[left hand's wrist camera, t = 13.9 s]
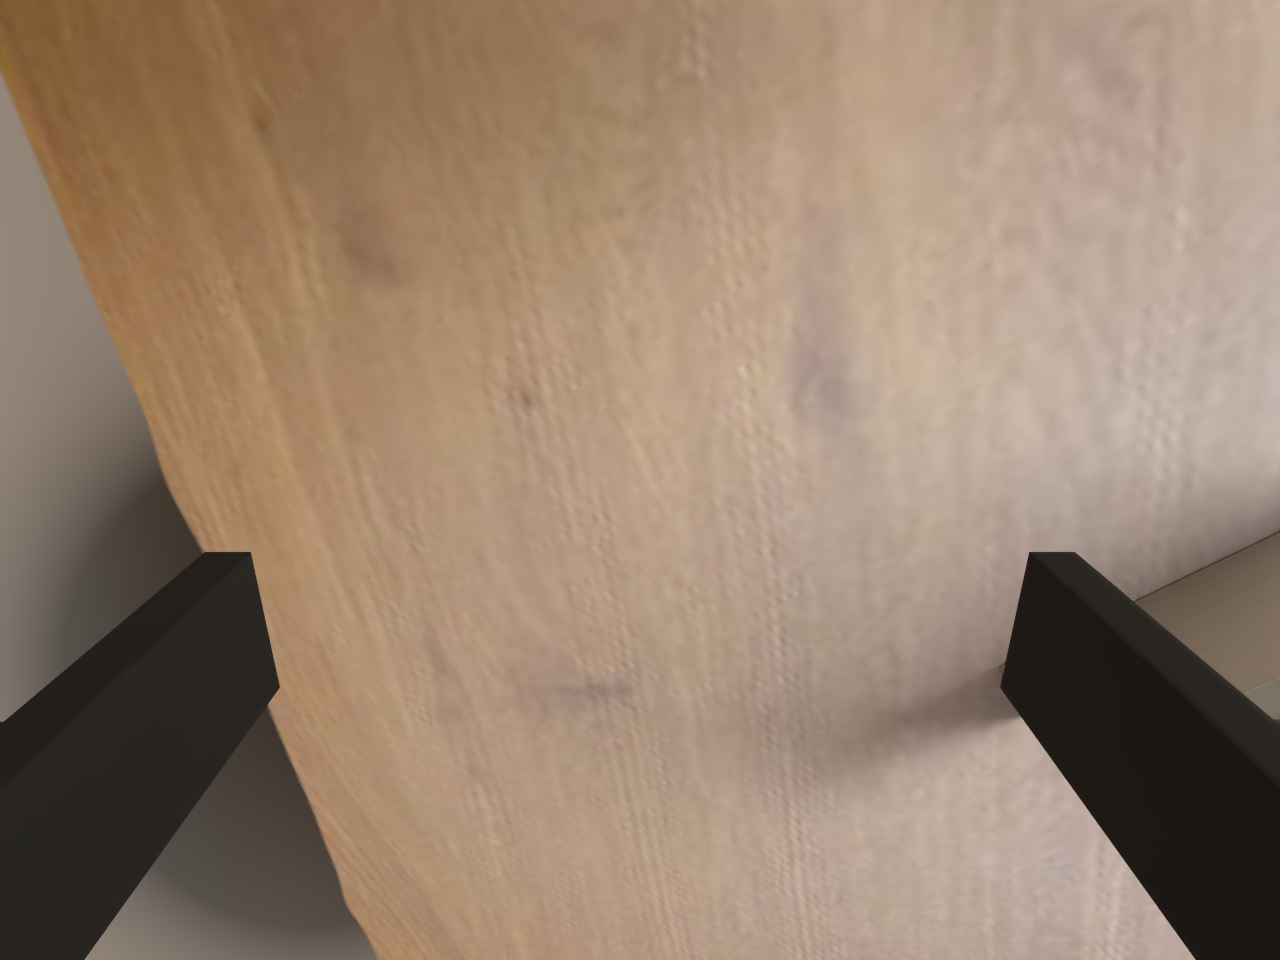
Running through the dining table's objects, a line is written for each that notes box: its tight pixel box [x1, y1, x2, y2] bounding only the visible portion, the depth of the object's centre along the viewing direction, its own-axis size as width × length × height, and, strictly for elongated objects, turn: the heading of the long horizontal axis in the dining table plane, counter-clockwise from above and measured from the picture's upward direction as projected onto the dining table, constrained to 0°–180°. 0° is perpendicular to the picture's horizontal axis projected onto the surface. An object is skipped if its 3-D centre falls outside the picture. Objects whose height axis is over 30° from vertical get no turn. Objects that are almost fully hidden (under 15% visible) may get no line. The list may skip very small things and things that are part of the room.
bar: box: [999, 532, 1280, 719], centre depth 40 cm, size 25×4×9 cm, turn 122°
